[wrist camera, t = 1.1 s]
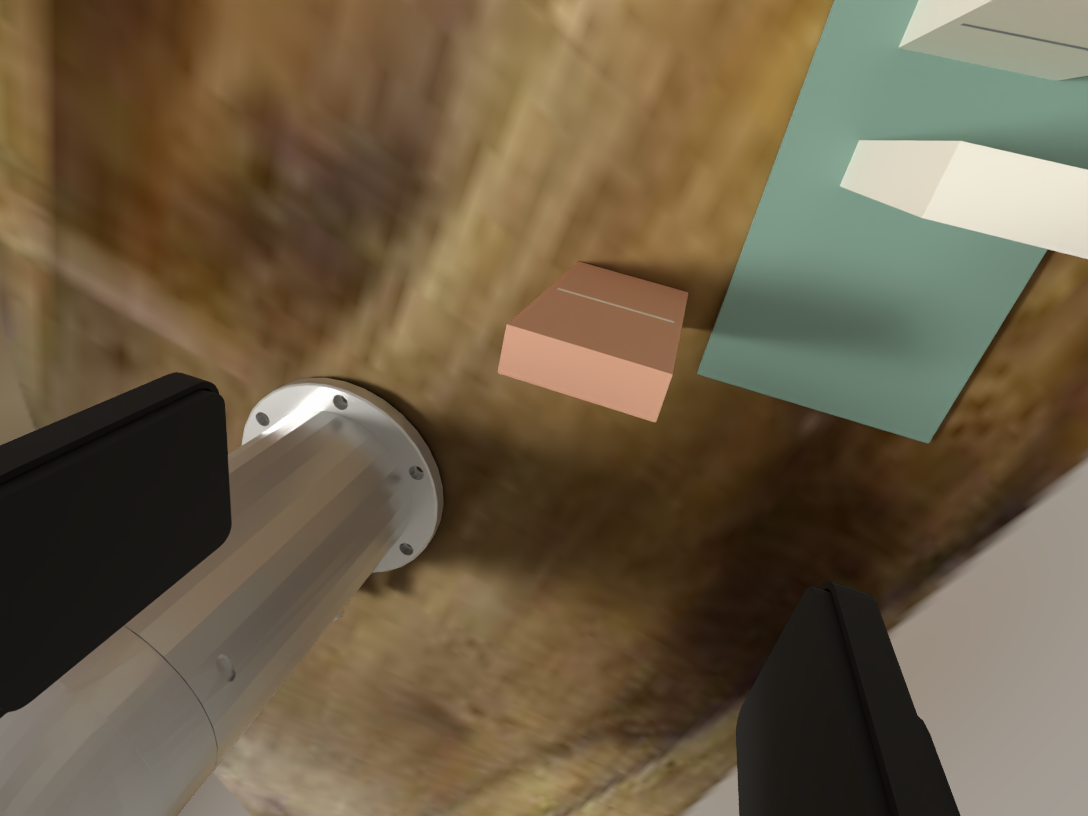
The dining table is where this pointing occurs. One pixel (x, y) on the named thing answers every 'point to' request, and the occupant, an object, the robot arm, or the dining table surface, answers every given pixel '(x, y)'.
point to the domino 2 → (977, 190)
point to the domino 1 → (1005, 34)
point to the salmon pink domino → (599, 340)
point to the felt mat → (882, 232)
